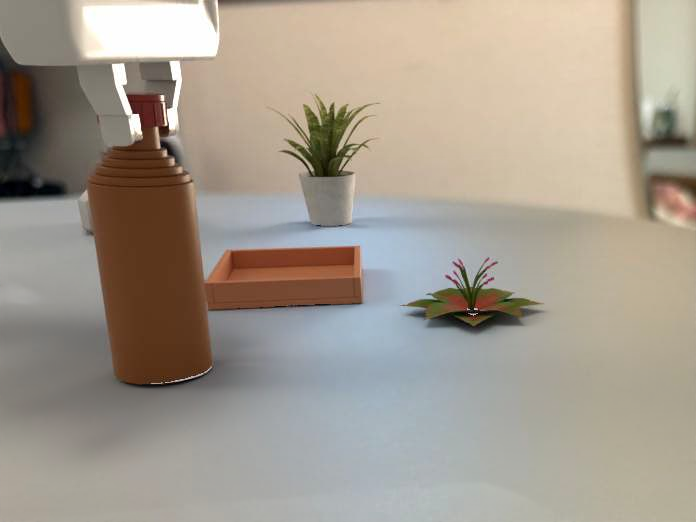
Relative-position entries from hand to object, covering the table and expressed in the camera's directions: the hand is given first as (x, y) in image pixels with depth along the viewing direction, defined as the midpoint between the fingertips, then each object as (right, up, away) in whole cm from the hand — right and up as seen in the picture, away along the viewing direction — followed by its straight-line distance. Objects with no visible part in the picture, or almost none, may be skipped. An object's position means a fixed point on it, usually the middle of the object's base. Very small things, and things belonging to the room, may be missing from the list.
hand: (144, 140), depth 54 cm
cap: (0, +2, -1) cm, 2 cm away
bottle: (-1, -14, +6) cm, 16 cm away
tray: (+2, -6, +27) cm, 27 cm away
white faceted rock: (-26, +5, +51) cm, 57 cm away
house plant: (-1, +7, +56) cm, 57 cm away
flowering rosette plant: (+19, -9, +20) cm, 29 cm away
